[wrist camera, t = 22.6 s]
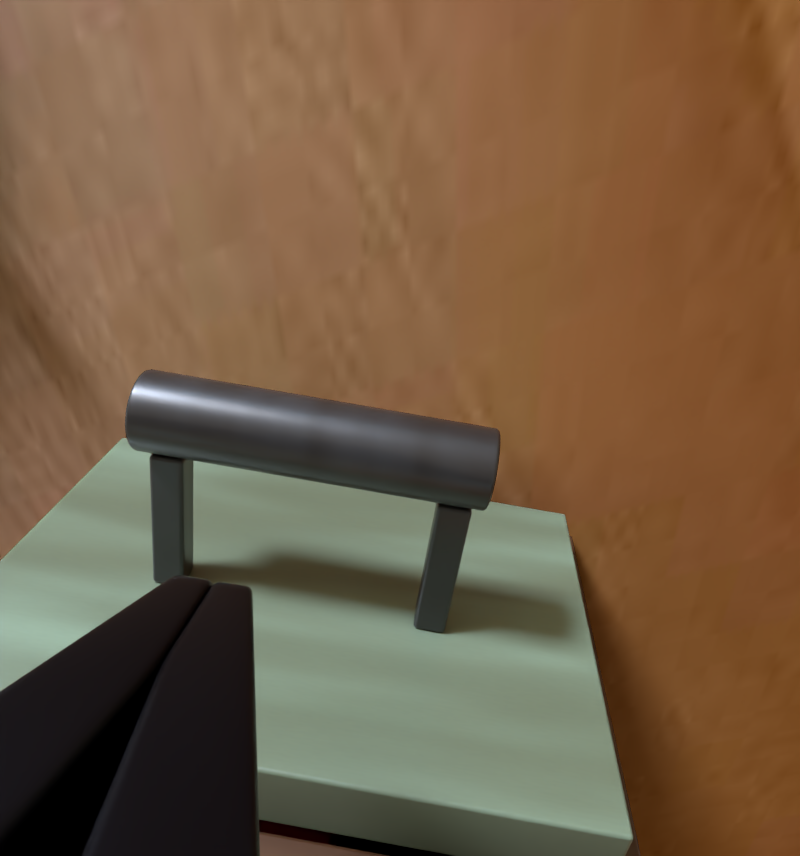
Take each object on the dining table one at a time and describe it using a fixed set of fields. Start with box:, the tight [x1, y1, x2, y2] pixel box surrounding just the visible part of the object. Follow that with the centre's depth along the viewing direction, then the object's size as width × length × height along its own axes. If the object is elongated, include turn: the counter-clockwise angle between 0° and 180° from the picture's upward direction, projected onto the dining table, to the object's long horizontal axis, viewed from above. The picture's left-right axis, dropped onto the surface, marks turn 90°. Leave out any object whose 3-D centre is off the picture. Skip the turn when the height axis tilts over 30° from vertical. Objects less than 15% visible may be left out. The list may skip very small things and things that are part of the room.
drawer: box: [0, 369, 633, 856], centre depth 16 cm, size 18×11×8 cm, turn 172°
